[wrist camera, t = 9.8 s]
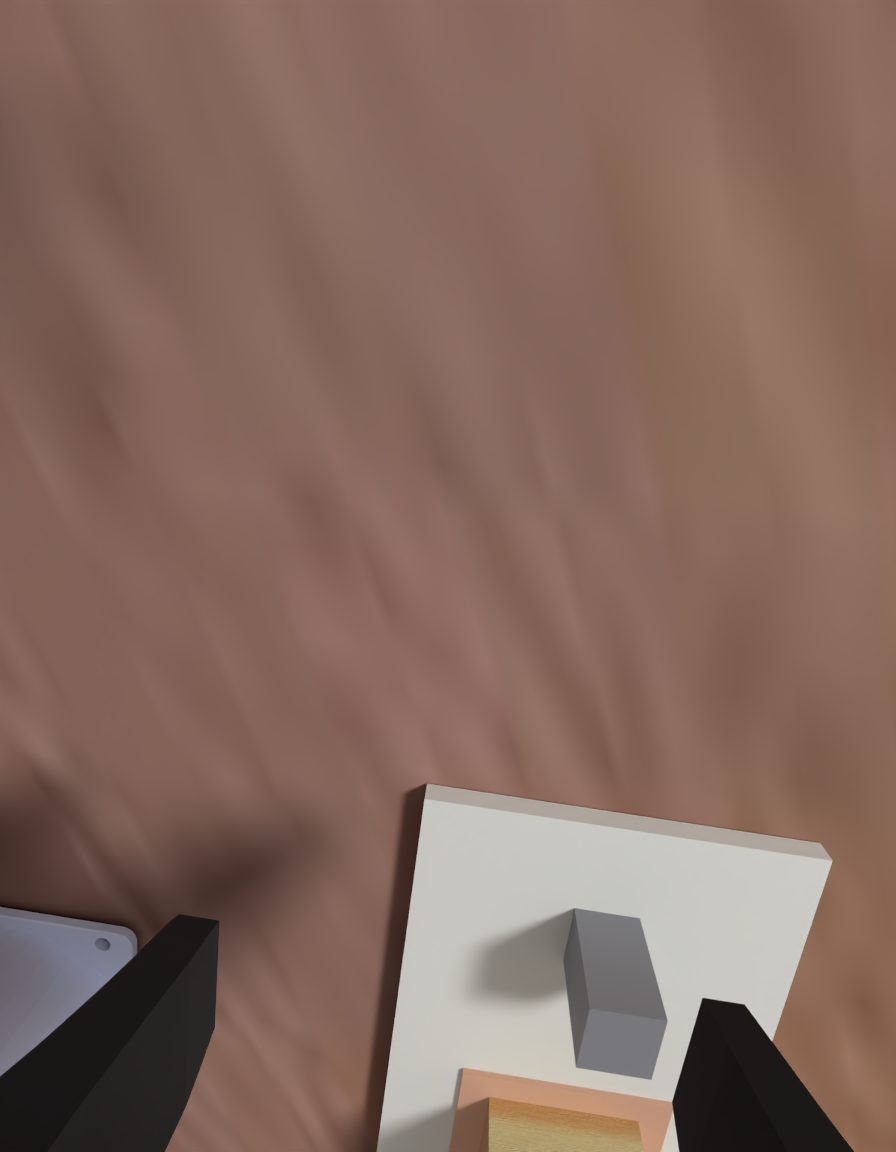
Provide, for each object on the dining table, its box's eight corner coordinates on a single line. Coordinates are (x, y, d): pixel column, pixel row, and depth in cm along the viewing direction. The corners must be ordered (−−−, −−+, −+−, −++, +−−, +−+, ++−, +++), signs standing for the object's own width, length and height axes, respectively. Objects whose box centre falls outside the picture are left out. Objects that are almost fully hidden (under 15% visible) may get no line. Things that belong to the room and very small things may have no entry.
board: (371, 1195, 26) (347, 1350, 22) (427, 783, 21) (409, 881, 17) (687, 1249, 25) (724, 1416, 21) (819, 843, 21) (902, 958, 16)
